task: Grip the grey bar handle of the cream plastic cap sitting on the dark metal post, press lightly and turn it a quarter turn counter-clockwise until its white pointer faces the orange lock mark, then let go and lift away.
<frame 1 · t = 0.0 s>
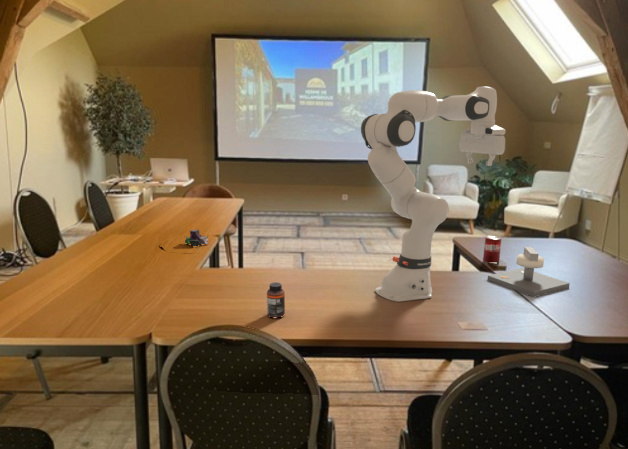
hand: (479, 164, 193), 48 cm above the table, tool pointing down, fingers open, 8 cm apart
supplement bottle: (275, 316, 163), on the table
lock base: (527, 283, 198), on the table
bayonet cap: (529, 257, 196), point 11 cm above the table, hinge at 0.0°
soda can: (490, 262, 227), on the table
mineral sample: (194, 245, 251), on the table
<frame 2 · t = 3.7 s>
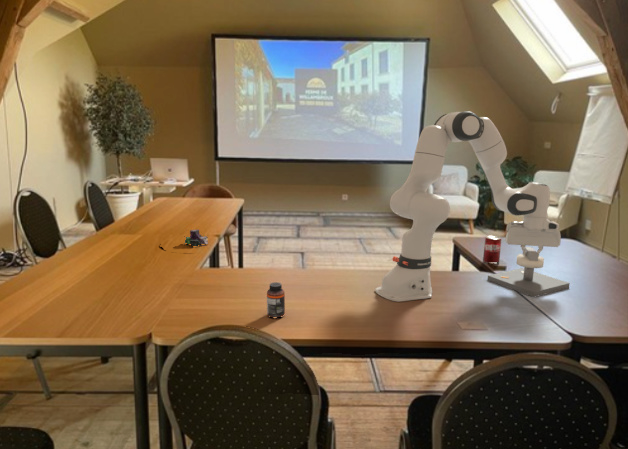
hand: (530, 256, 195), 12 cm above the table, tool pointing down, fingers closed on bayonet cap, 3 cm apart
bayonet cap: (529, 257, 196), point 11 cm above the table, hinge at 0.0°, touching gripper
everything else where it was.
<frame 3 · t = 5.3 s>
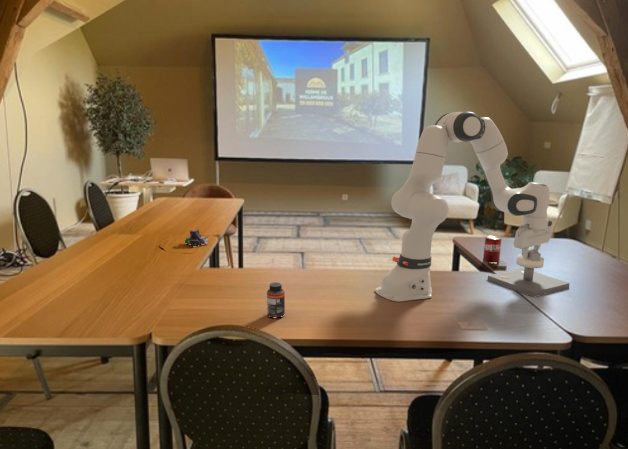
hand: (530, 255, 195), 12 cm above the table, tool pointing down, fingers closed on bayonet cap, 5 cm apart
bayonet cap: (529, 257, 196), point 11 cm above the table, hinge at 10.6°, touching gripper
everything else where it was.
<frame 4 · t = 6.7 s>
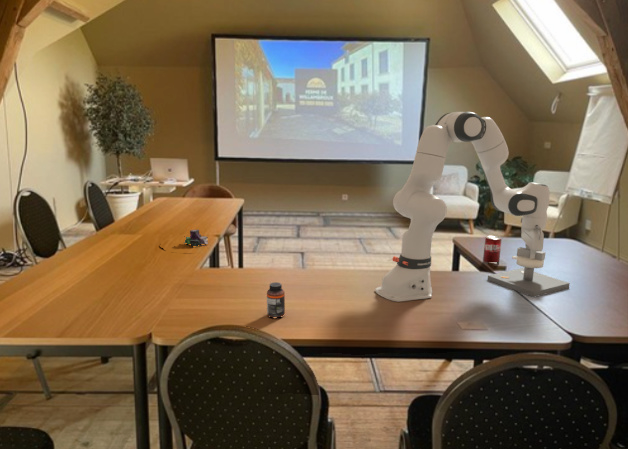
hand: (529, 256, 195), 12 cm above the table, tool pointing down, fingers closed on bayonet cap, 5 cm apart
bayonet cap: (529, 257, 195), point 11 cm above the table, hinge at 54.6°, touching gripper
everything else where it was.
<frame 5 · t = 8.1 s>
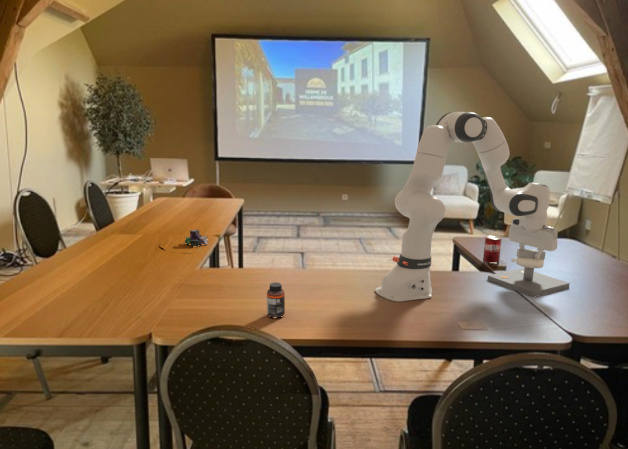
hand: (530, 256, 195), 12 cm above the table, tool pointing down, fingers closed on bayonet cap, 5 cm apart
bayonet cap: (529, 257, 195), point 11 cm above the table, hinge at 94.2°, touching gripper
everything else where it was.
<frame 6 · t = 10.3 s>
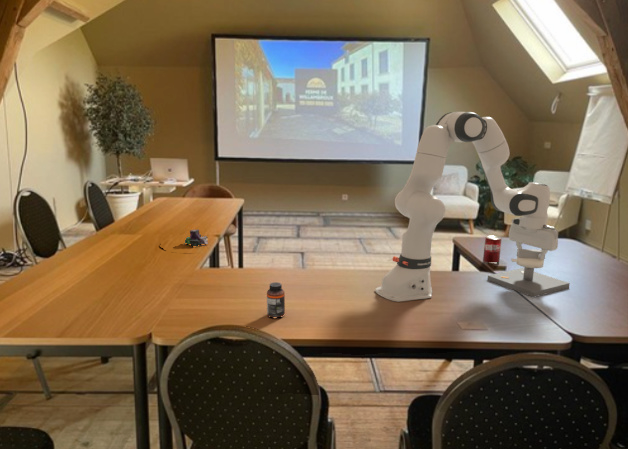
hand: (530, 256, 195), 12 cm above the table, tool pointing down, fingers open, 8 cm apart
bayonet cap: (529, 257, 195), point 11 cm above the table, hinge at 94.2°
everything else where it was.
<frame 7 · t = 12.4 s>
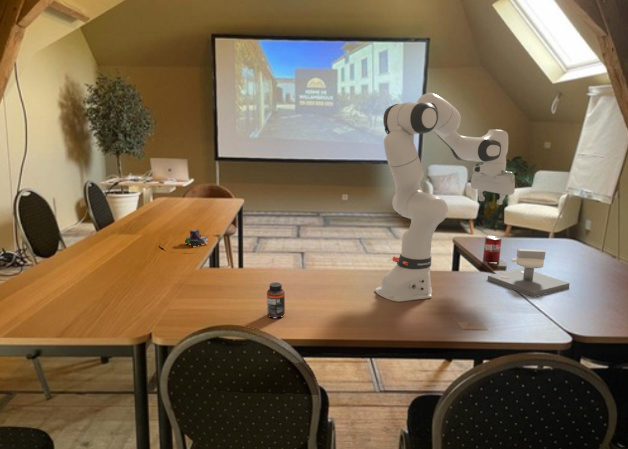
hand: (490, 202, 201), 32 cm above the table, tool pointing down, fingers open, 8 cm apart
nothing on the table moved.
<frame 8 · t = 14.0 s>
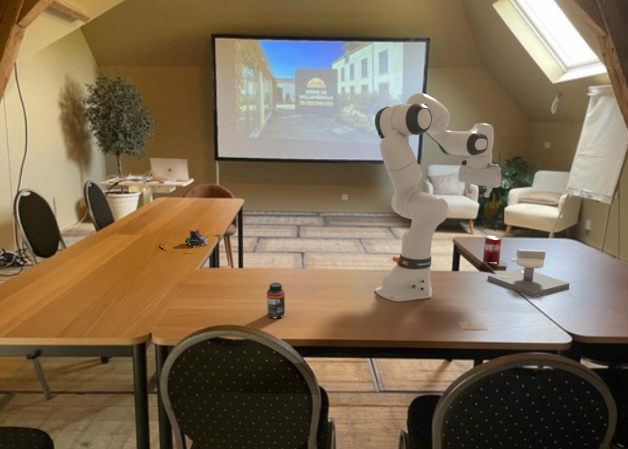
hand: (477, 195, 204), 34 cm above the table, tool pointing down, fingers open, 8 cm apart
nothing on the table moved.
at the end: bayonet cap at +94° (first picture: +0°); the gripper is holding nothing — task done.
